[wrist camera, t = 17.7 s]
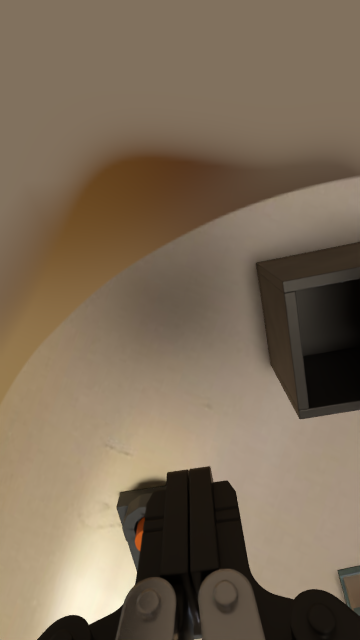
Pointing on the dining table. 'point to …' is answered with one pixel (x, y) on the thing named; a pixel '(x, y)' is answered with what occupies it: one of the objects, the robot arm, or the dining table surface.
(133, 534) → the control pad
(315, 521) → the dining table surface
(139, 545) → the button
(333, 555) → the dining table surface
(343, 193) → the dining table surface
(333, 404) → the hinged lid box
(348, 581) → the book
